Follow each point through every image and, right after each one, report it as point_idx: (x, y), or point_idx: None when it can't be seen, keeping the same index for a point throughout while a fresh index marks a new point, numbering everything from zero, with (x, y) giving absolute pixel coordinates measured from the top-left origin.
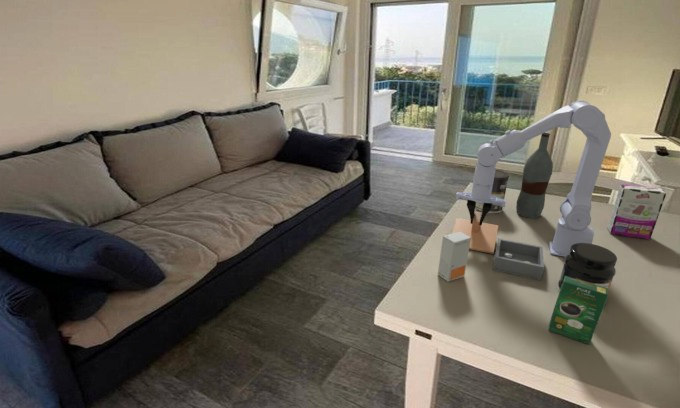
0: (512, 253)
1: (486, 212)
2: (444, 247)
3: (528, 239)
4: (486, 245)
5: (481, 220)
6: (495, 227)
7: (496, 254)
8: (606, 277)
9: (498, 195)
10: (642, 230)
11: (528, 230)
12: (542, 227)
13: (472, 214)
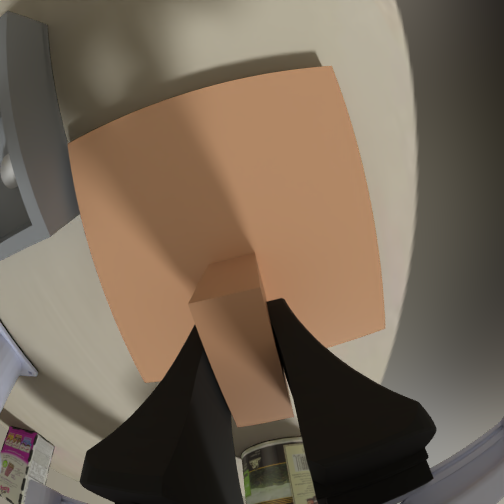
0: (23, 216)
1: (135, 424)
2: None
3: (77, 369)
4: (112, 172)
5: (194, 344)
6: (145, 361)
7: (3, 36)
8: None
9: (258, 499)
10: (11, 439)
11: (119, 413)
12: (111, 432)
13: (296, 358)
